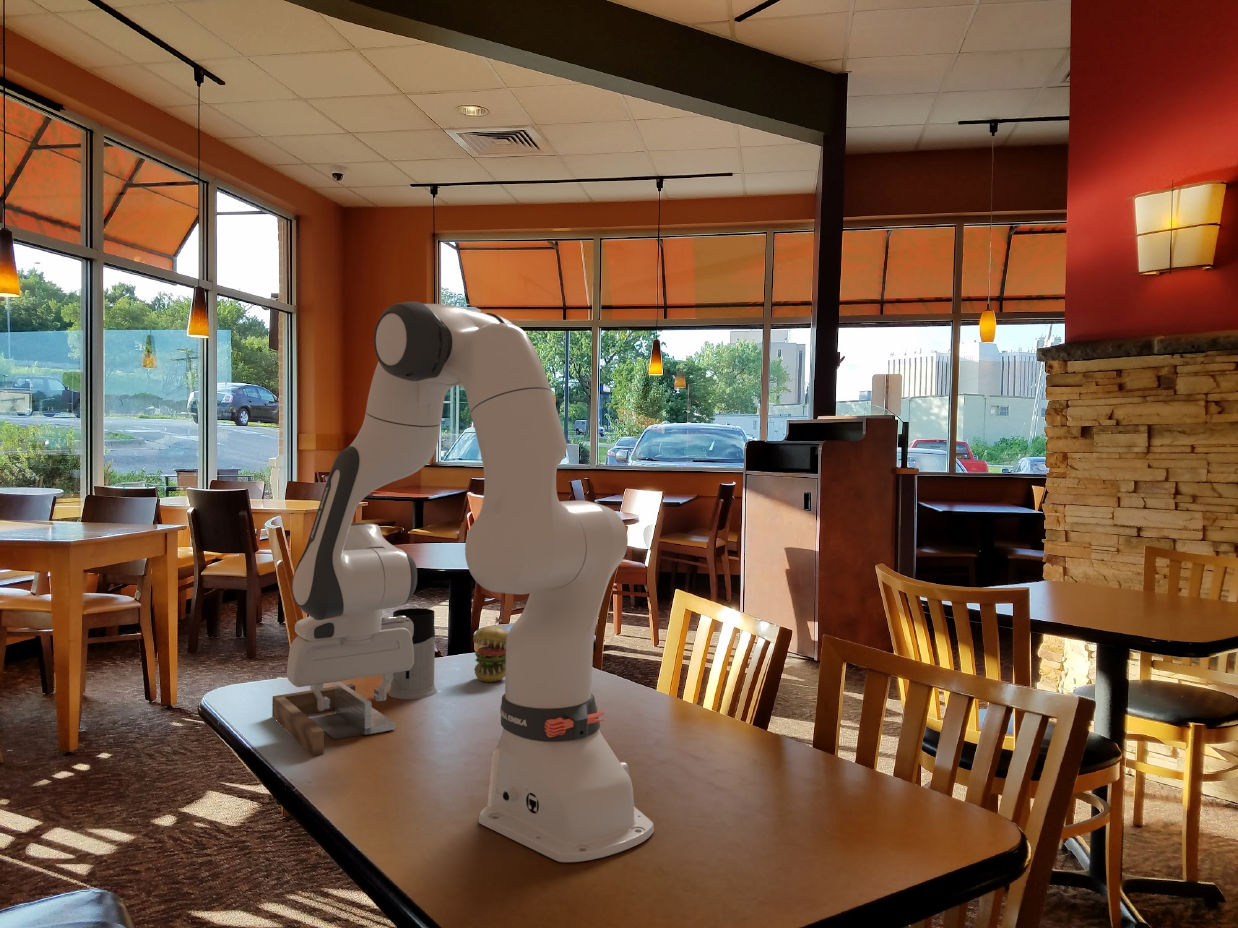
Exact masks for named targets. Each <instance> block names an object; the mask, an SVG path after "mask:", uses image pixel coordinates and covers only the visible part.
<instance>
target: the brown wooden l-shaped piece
mask: <svg viewBox="0 0 1238 928" xmlns="http://www.w3.org/2000/svg"><path fill="white" fill-rule="evenodd" d="M345 685H346V686H348V687H349V688H351V689H352V690H354V691H355V692H356V685H355V684H354V683H348V684H345ZM320 692H321V694H322V696H323V697H327V698H329V699H330V704H329V706H330V709H329V710H328V711H332V710H335V686H330V687H329V686H328V687H325V688H324V687H323V690H320ZM271 701H272V702H271V703H272V704H271V705H272V706H271V707H272V709H271V710H272V711H271V712H272V713H271V714H272V715H271V717H272V718H273V717H274V718H273V720H275V721H276V720H277V721H276V722H277V723H278V724H279V723H280V724H279V725H280V726H281V725H282V726H281V727H282V728H283V729H284V730H285V731H286V730H287V731H286V732H287V733H288V734H289V733H290V734H289V735H291V736H292V737H293V739H295V741H297V742H298V743H299V744H300V745H301V746H302V747H303V748H304V749H306V750H307V752H308V753H309V754H311V756H312V757H314V756H319V755H324V750H325V749H324V748H325V747H324V743H325V742H324V738H325V737H324V736H325V734H326V733H327V734H326V735H327V736H329V737H330V738H331V739H332V740H334V741H335V740H340V739H341V740H342V739H345V738H353V737H356V736H361V735H364V734H363V733H361V732H360V731H359V730H357V729H356V728H355V727H353V726H352V725H351V724H350V723H348V722H347V721H346V720H344V719H343V718H342V717H340V716H339V715H338V714H337V713H335V712H334V713H331V714H324V715H319V716H314V717H308V716H307V715H309V714H313V713H314V712H315V713H321V712H322V711H319V710H318V708H317V698H316V696H315V695H314V693H313V692H312V690H311V689H310V690H304V691H299V692H298V691H297V692H291V693H285V694H279V695H278V694H277V695H273V696H272V700H271ZM323 712H326V711H325V710H324V711H323ZM315 713H314V714H315Z"/></svg>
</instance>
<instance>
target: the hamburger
mask: <svg viewBox="0 0 1238 928" xmlns="http://www.w3.org/2000/svg"><path fill="white" fill-rule="evenodd" d="M494 622H495V623H494V625H495V626H484V627H482V628H480V629H478V630H477V631H476V632H475V633H474V636H473V639H472V640H473V643H475V644H477V646H478V647H477V648H478V649H477V651H476V652H475V656H476V658H475V660H474V662H475V661H476V663H477V664H476V665H474V674H475V676H476V678H477V679H479V681H482V682H485V683H494V682H498V681H501V680H502V679H503V678H504V679H505V672H506V640H507V636H508V633H509V631H507V630H505V629H503V628H501V627H497V626H496V624H498V623H500V622H503V619H501V618H499V617H498V616H495V621H494ZM480 646H481V647H480Z"/></svg>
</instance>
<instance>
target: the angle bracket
mask: <svg viewBox="0 0 1238 928" xmlns="http://www.w3.org/2000/svg"><path fill="white" fill-rule="evenodd" d="M346 685H347V684H345V683H343V682H342V681H336V682H334V687H335V709H334V714H335V713H337V714H338V715H339V716H340V717H342V718H343V719H344V720H346V721H347V722H348V723H350V724H351V725H352V726H353V727H355V728H356V729H357V730H359V731H360V732H361V733H363V734H362V735H364V736H367V735H372V734H378V733H384V732H386V731H387V732H388V731H393V730H396V723H395V722H394V721H393V720H392V719H390V718H388V717H387V716H386V715H384V714H383V713H381V712H379V711H378V710H376V709H375V708H374V707H373V706H372V701H370V700H368V699H367V698H366V697H364V696H363V695H361V694H360V693H358V692H357V691H356V690H355V691H354V690H352V689H351V688H349V687H348V686H346Z"/></svg>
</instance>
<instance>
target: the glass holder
mask: <svg viewBox="0 0 1238 928" xmlns="http://www.w3.org/2000/svg"><path fill="white" fill-rule="evenodd" d="M397 616H405V617H406V618H409V619H410V620H411V621H412V622H413V625H414V633H413V637H412V642H413V649H414V665H413V666H412V668H411V669H410V670H409V671H402V672H396V673H393V681H392V683H391V684H390V686H389V690H388V691H387V695H388V696H389V697H391V698H394V699H399V700H418V699H424V698H428V697H431V696H434V695H435V694H437V688H436V687H435V686H436V685H435V663H436V662H435V656H436V655H435V653H436V650H435V648H436V630H435V610H433V609H429V608H420V607H419V608H417V607H413V608H402V609H398V610H393V613H392V617H397ZM406 621H408V620H406ZM406 621H405V622H406Z"/></svg>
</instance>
